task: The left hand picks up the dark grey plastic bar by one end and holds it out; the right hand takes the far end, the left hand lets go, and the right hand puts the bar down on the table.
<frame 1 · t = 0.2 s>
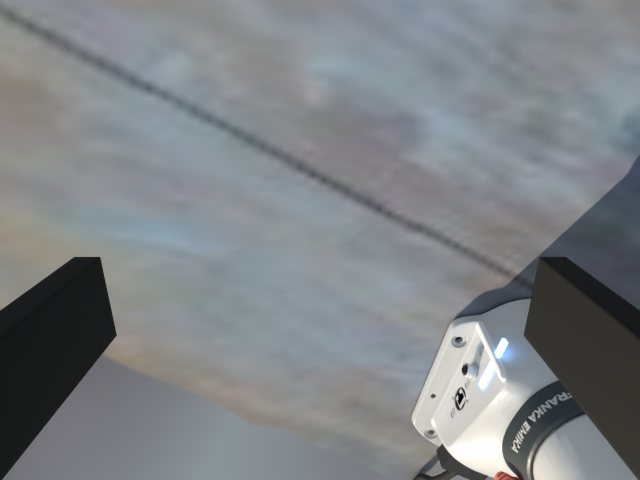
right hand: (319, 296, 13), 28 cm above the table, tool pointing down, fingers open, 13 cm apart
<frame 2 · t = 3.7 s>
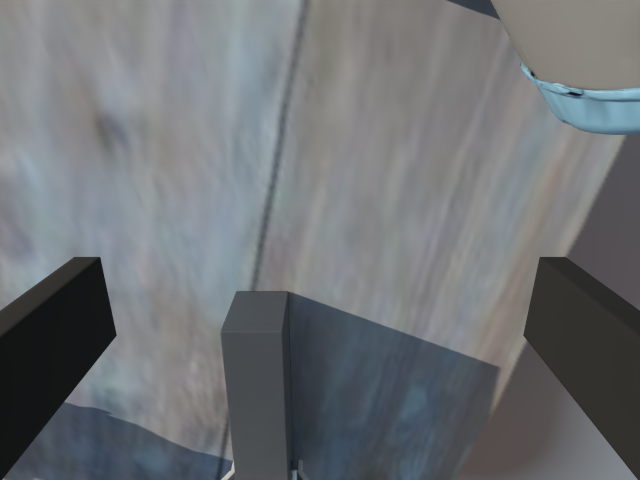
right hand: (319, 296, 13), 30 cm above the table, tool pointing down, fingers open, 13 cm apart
bar: (267, 386, 51), on the table, touching left hand
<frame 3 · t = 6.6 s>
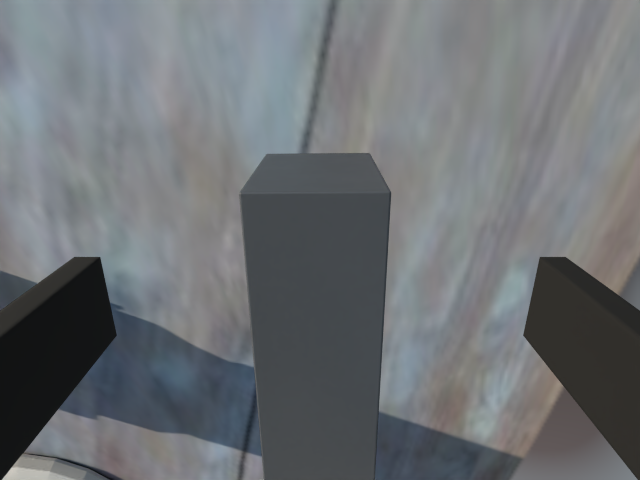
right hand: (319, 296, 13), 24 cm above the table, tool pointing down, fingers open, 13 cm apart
bar: (320, 348, 28), point 12 cm above the table, touching left hand
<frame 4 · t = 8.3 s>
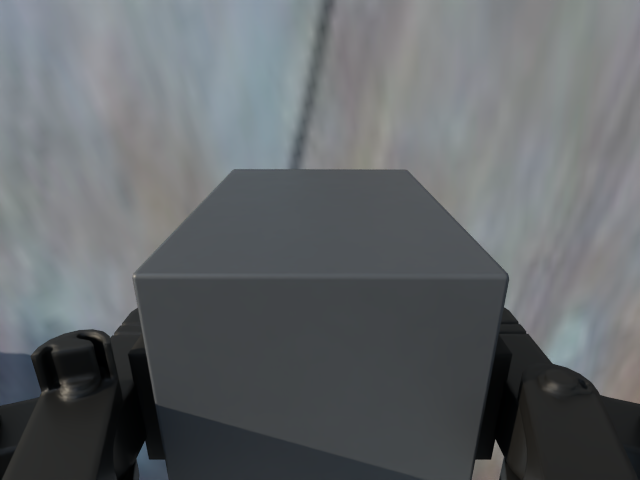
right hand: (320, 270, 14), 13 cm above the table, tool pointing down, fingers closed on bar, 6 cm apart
bar: (319, 463, 18), point 12 cm above the table, touching right hand, left hand
when the left hand's fingers open (15 cm above the table, at t = 9.3 s): bar stays where it is, held by the right hand.
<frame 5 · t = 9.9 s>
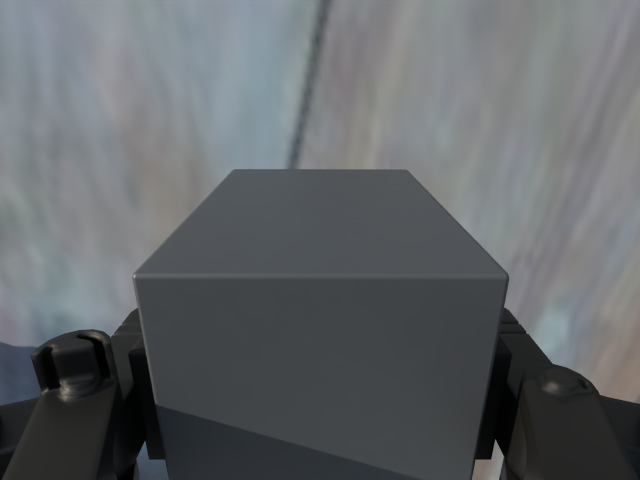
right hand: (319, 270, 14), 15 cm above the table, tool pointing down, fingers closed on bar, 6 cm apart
bar: (319, 463, 18), point 14 cm above the table, touching right hand
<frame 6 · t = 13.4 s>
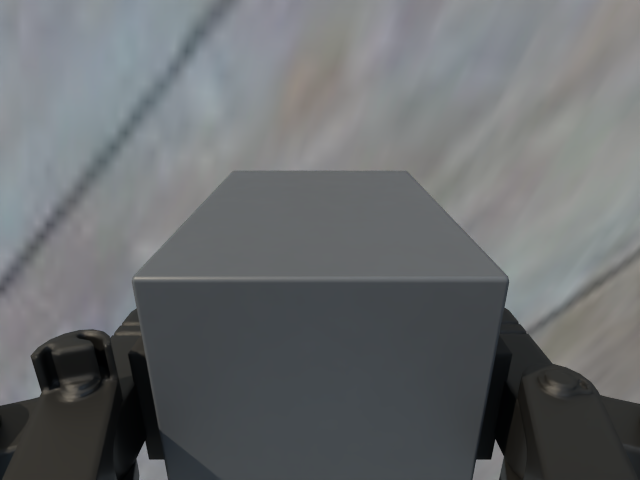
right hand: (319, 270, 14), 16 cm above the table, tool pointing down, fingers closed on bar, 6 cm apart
bar: (319, 464, 18), point 15 cm above the table, touching right hand
when the right hand's fingers open (2 cm above the table, at t = 18.4 s): bar drops 1 cm, on the table.
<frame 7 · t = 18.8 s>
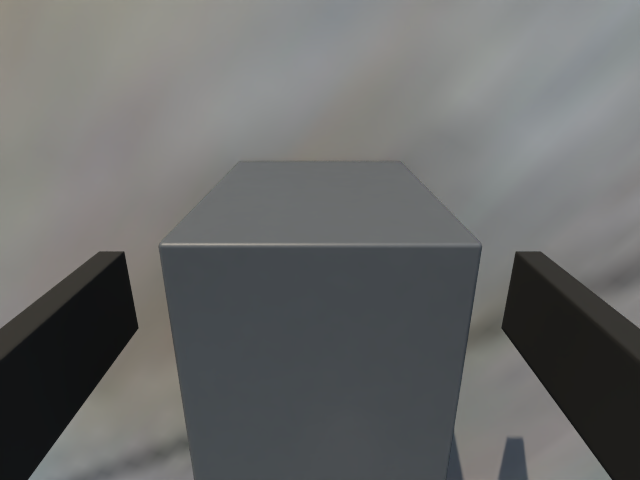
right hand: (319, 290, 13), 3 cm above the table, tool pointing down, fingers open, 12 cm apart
bar: (319, 440, 19), on the table
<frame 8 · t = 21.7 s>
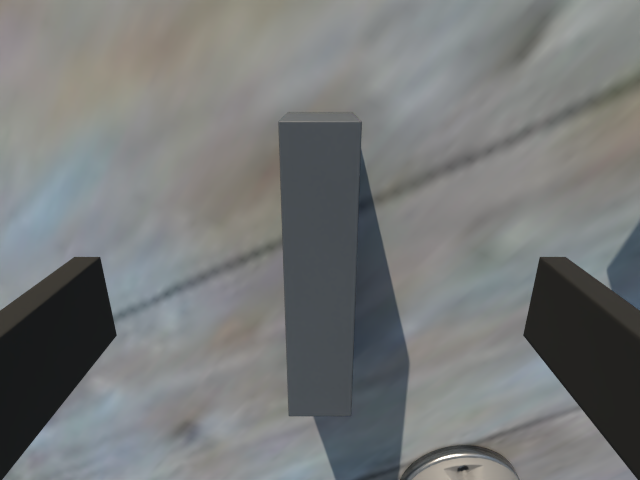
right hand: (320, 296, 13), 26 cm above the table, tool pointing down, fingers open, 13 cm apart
bar: (319, 251, 41), on the table
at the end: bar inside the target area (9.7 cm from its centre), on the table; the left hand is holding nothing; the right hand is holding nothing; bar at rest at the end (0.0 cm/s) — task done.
